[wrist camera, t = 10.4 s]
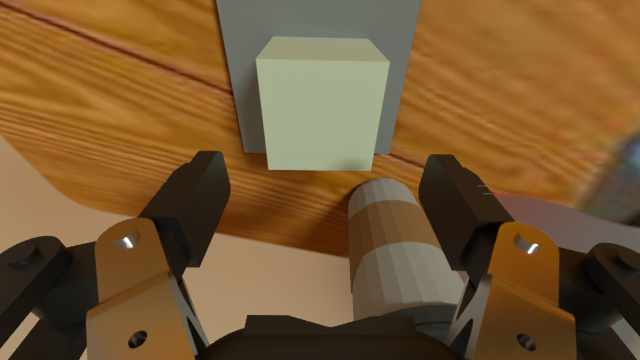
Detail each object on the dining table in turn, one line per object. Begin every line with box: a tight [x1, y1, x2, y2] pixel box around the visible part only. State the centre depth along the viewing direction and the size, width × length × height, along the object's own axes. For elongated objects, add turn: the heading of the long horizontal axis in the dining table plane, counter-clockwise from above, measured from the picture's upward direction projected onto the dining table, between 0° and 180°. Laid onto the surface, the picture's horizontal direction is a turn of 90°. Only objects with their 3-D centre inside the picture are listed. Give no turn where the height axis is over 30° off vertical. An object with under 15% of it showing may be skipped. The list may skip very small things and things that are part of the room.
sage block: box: [256, 36, 390, 171], centre depth 16 cm, size 6×6×6 cm
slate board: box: [216, 0, 421, 154], centre depth 19 cm, size 12×11×1 cm
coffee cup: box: [348, 178, 464, 342], centre depth 20 cm, size 8×8×15 cm
